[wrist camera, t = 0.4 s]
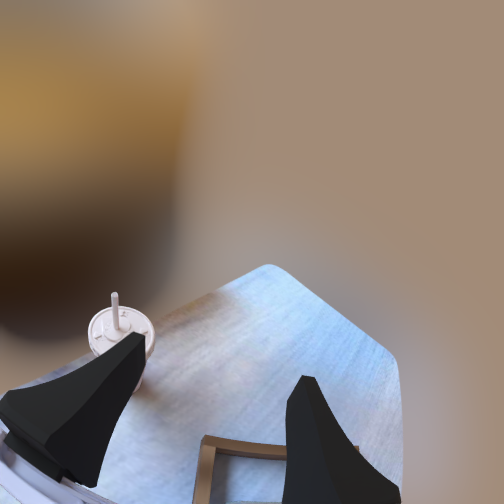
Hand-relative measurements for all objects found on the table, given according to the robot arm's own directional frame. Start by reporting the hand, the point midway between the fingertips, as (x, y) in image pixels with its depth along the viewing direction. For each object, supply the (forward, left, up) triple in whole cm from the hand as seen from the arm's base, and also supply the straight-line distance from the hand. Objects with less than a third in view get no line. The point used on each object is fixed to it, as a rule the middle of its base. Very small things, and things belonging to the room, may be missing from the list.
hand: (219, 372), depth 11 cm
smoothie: (+7, +8, -19) cm, 22 cm away
